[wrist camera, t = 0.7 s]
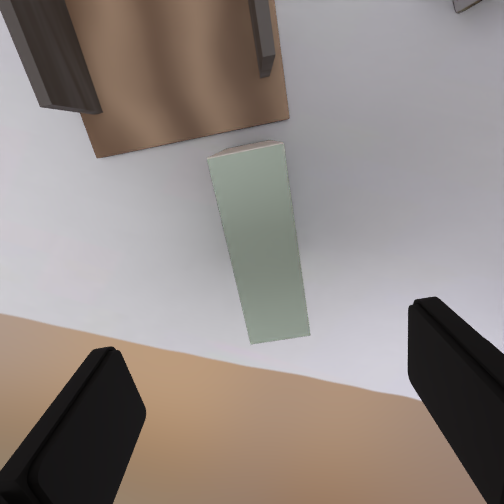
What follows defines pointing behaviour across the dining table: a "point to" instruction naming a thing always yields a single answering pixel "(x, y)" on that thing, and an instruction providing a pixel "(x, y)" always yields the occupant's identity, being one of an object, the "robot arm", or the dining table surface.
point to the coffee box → (464, 4)
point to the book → (261, 238)
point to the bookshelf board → (152, 66)
